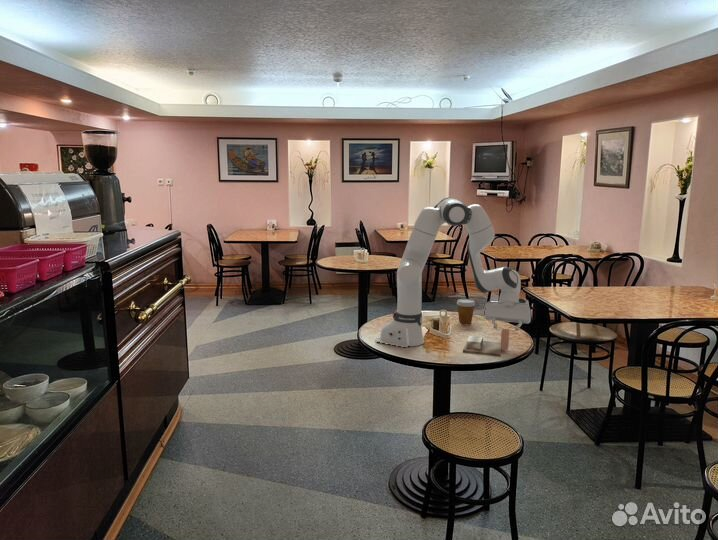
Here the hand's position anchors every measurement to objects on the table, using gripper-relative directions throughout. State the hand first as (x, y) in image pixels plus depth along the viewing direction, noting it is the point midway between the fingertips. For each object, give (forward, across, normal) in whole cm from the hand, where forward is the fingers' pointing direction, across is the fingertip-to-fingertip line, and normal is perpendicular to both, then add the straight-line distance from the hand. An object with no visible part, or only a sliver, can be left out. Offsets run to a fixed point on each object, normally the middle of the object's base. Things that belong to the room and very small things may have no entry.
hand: (505, 328), depth 229 cm
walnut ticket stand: (+9, -9, +3) cm, 13 cm away
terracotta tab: (+8, 0, +2) cm, 9 cm away
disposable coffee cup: (-17, -23, +30) cm, 42 cm away
